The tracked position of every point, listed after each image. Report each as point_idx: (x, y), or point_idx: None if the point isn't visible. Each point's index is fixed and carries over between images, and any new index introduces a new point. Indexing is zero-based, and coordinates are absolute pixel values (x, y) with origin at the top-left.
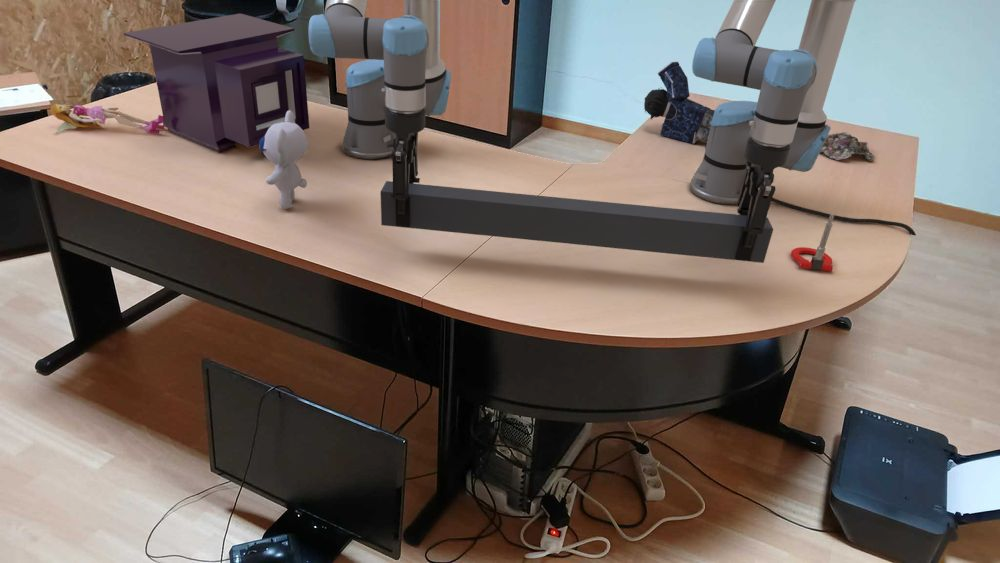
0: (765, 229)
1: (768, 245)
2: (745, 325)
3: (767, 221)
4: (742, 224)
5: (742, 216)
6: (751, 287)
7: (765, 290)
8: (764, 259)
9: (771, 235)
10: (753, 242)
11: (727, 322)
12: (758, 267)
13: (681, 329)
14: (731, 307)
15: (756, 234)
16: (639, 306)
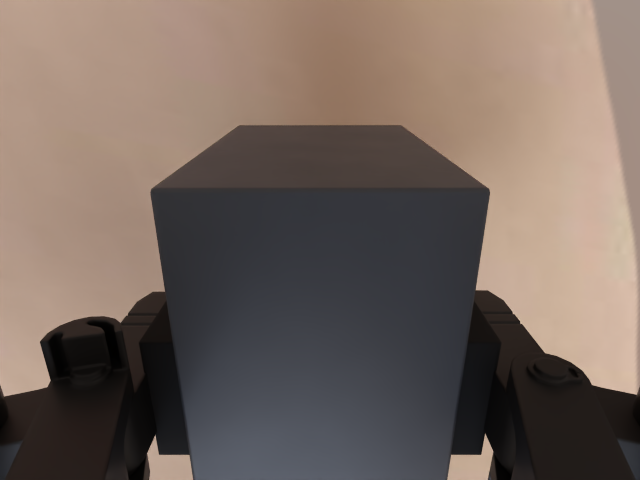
0: (476, 272)
1: (433, 149)
2: (597, 186)
3: (280, 219)
4: (408, 471)
5: (222, 446)
6: (311, 105)
7: (325, 41)
8: (405, 129)
9: (461, 169)
10: (516, 317)
11: (575, 247)
12: (112, 29)
13: (608, 385)
14: None
15: (488, 328)
16: (486, 473)
